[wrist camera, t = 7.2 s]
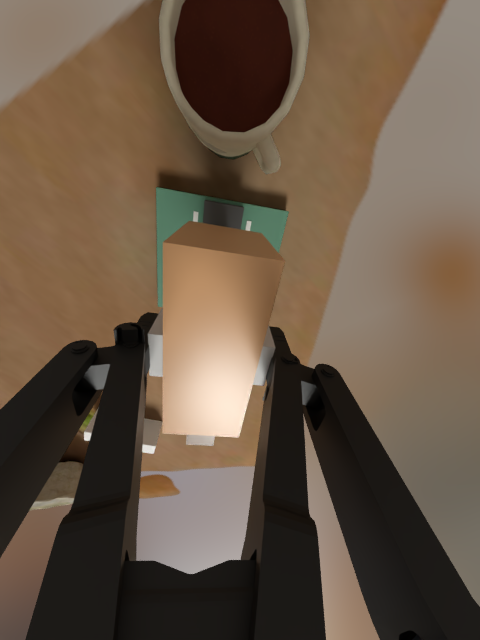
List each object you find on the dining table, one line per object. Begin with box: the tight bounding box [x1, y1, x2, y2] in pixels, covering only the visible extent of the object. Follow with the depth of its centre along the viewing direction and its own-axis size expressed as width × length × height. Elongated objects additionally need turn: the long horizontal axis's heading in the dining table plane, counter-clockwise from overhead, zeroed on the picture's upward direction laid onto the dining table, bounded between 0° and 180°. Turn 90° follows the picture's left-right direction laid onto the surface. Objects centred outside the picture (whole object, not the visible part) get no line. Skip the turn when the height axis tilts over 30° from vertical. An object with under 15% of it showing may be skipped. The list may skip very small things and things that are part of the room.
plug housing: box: [163, 221, 285, 446], centre depth 15 cm, size 5×15×7 cm, turn 171°
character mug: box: [159, 0, 310, 174], centre depth 16 cm, size 11×7×13 cm, turn 31°
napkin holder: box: [84, 407, 163, 454], centre depth 40 cm, size 15×11×6 cm
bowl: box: [30, 461, 83, 510], centre depth 45 cm, size 15×14×10 cm
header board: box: [156, 187, 289, 307], centre depth 25 cm, size 14×14×7 cm
